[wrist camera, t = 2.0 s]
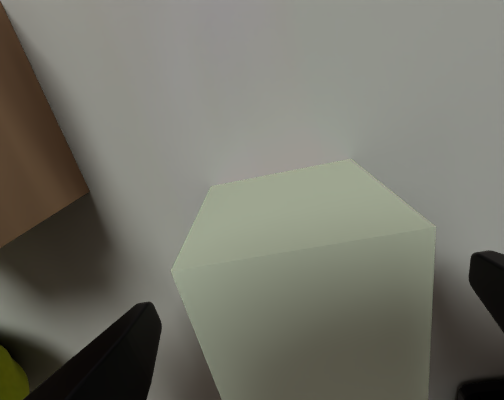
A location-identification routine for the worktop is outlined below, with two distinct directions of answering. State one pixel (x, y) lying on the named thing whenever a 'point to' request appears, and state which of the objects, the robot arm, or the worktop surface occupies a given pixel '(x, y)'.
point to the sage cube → (311, 287)
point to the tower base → (29, 146)
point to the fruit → (12, 378)
